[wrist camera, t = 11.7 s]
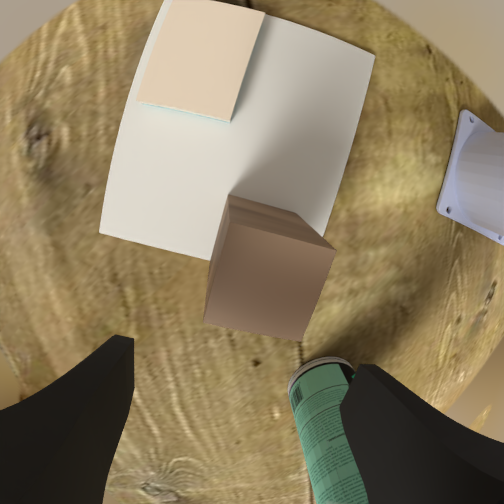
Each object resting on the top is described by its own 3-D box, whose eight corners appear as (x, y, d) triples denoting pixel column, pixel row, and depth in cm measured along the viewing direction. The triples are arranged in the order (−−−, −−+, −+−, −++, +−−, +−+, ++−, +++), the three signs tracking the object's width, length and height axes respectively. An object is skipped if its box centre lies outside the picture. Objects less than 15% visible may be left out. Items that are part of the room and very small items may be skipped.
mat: (372, 57, 16) (375, 55, 15) (304, 280, 20) (306, 283, 19) (167, -2, 13) (166, -5, 13) (101, 230, 18) (99, 232, 17)
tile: (229, 123, 16) (262, 22, 14) (229, 120, 15) (265, 12, 13) (143, 104, 15) (178, 5, 13) (135, 100, 14) (175, -5, 12)
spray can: (296, 414, 24) (355, 634, 5) (279, 370, 22) (347, 645, 3) (357, 392, 23) (452, 596, 5) (349, 346, 22) (479, 591, 3)
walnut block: (275, 276, 19) (300, 341, 12) (210, 260, 18) (203, 322, 12) (296, 212, 18) (336, 250, 11) (228, 194, 17) (229, 221, 11)
